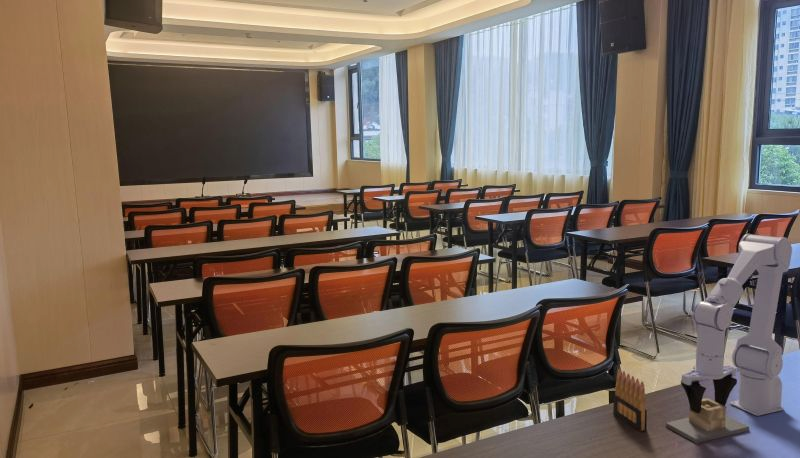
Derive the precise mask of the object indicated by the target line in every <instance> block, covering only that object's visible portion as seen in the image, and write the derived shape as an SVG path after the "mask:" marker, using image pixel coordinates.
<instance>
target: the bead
mask: <svg viewBox="0 0 800 458" xmlns="http://www.w3.org/2000/svg"><path fill="white" fill-rule="evenodd" d="M705 405H709V406H711V408H707V407H704V406H705ZM688 408H689V409H688V410H689V412H688V413H689V414H688V418H689V422H691V423H692V424H694V425H696V426H698V427H700V428H702V429H704V430H706V431H711V430H715V429H719V428H723V427H725V419H726V416H727V413H726V412H727V405H725V406H723V405H721V404H719V403H717V402H715V400H713V399H710V398H708V397H706V398H702V403H701V411H700V413H695V412H693V411H691V408H690V405H689V407H688Z"/></svg>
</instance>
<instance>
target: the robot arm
mask: <svg viewBox="0 0 800 458" xmlns="http://www.w3.org/2000/svg"><path fill="white" fill-rule="evenodd" d="M792 255H793V246H792V244H791V242H790V240H789V239H788V238H787V237H786V236H785V237H783V236H782V237H778V236H771V235H770V236H768V235H759V234H758V235H757V234H751V233H746V234H744V235H743V236H742V238H741V239H740V241H739V243H738V257H737V259H736V261H735V262H734V265H733V266H732V268H731V269H730V271H729V274H728V275H727V277H723V278H721V279H719V280H718V281H717V282H716V284H715V286H714V287H713V288H712V290H711V291H710V293H709V294H708V296H707V297H706V299H705V300H702V301H700V302H697V303H696V304H695V306H694V308H693V311H692V314H691V320H692V322H693V323H694V331H695V332H696V354H695V365H694V366H693V368H692V370H690V371H688V372H686V373H683V374H681V379H680V385H681V387H682V388H683V389H684V392H685V394H686V397H687V399H688V403H689V406H690V408H691V411H693V412H695V413H700V411H701V403H702V399H704V398H703V396H704V393H705V392H706V390H707V387H704V386H702V385H701V383H700V382H704V381H709V380H712V382H713V388H714V401H715V402H717V403H719V404H721V405H723V406H727V405H726V404H727V403H728V399H729V397H730V394H731V392H732V391H733V389H734V388H735V386H736V385H737V384H738V387H739V388H738V400H733V401H729V402H730V403H729V404H730V405H732V406H734V407H736V408H738V409H740V410H743V411H745V412H747V413H750V414H752V415H754V416H762V415H766V414H771V413H775V412H780V411H783V410H785V407H783V406H782V398H783V397H782V395H783V394H782V393H783V392H782V391H783V384H782V380H781V378H780V376H779V375H780V374H781V371H782V369H783V362H784V361H783V348H782V347H781V346H780V345H779V344H778V343H777V342H776V341H775V340H774V338H773V332H774V327H775V321H776V320H775V319H776V316H777V315H776V314H777V309H778V303H779V297H780V291H781V285H782V279H783V273H786V272H788V271H789V270H790V266H791V261H792ZM755 271H756V272H758V276H757V282H756V288H755V293H754V300H753V304H752V311H751V316H750V322H749V328H748V333H747V334H745V335H743V336H741V337H739V338H738V339H737V340H736V345H735V347H734V349H733V351H732V354H731V361H732V364H733V366H732V365H724V364H725V363H724V362H725V361H724V360H725V339H726V338H725V337H726V329H728V327H729V326H730V325H731V321H732V317H733V315H734V307H736V305H737V304H738V302H739V300H740V299H741V298H742V296H743V294H744V288H743V285H744V284H745V283H746V282H747V280H748V279H750V277H751V276H752V275H753V274H754V272H755ZM737 372H738V373H739V383H738V380H737V379H736V378H734V377H735V376H737Z"/></svg>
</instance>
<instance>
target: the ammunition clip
mask: <svg viewBox="0 0 800 458" xmlns="http://www.w3.org/2000/svg"><path fill="white" fill-rule="evenodd" d="M634 376H635V375H632V376H631V375H630V373H629V372H628V373H627V374H626V372H625V370H623V371H622V370H621V368H618V370H617V373H616V382H615V394H614V395H613V412H612V414H614V415H615V416H616V417H618V418H619V419H621V420H622V421H623V422H625V423H627V424H628V425H630V426H631V427H632V428H633V429H635V430H636V431H638V432H645V431H647V430H648V429H647V426H648V425H647V423H648V422H647V421H648V420H647V419H648V415H647V413H648V412H647V411H648V410H647V409H646V391H645V390H646V389H645V384H644V381H643V380H642V381H639V378H636V380H635V377H634Z"/></svg>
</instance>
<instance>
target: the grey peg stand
mask: <svg viewBox="0 0 800 458" xmlns="http://www.w3.org/2000/svg"><path fill="white" fill-rule="evenodd" d="M704 407H707V408H711V406H709V405H705V406H704ZM665 427H666V428H667V429H669V430H671V431H673V432H675V433H676V434H679V435H680V436H682V437H684V438H685V439H688V440H689V441H691V442H692V443H695V444H699V443H703V442H707V441H711V440H715V439H719V438H724V437H727V436H731V435H735V434H737V435H738V434H740V433H745V432H748V431H750V426H749V425H746V424H745V423H743V422H740V421H738V420H736V419H734V418H732V417H730V416H728V415H726V419H725V427H723V428H719V429H715V430H711V431H706V430H704V429H702V428H700V427H698V426H696V425H694V424H692V423H691V422H689V417H686V418H680V419H677V420H672V421H668V422H665Z"/></svg>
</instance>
